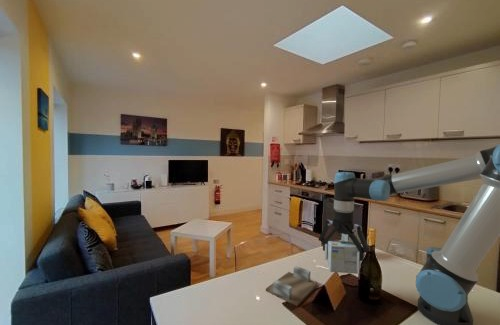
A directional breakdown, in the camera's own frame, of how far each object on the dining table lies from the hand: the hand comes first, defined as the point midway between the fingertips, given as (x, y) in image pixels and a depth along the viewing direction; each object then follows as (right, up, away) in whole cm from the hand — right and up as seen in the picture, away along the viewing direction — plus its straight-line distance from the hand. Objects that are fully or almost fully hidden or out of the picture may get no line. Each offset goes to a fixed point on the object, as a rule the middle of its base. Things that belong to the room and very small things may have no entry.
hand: (342, 263), depth 96 cm
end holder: (-20, -11, +1) cm, 23 cm away
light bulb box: (0, -3, 0) cm, 3 cm away
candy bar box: (+19, -11, +35) cm, 41 cm away
